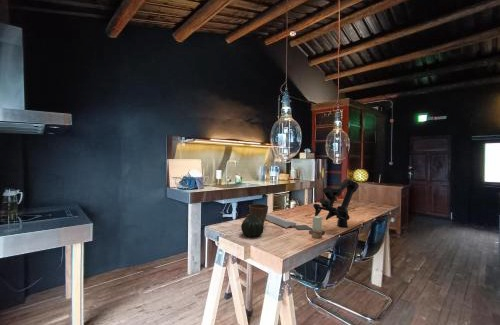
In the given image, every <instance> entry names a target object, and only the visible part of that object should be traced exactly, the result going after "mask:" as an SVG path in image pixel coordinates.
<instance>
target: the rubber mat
mask: <svg viewBox="0 0 500 325" xmlns="http://www.w3.org/2000/svg"><path fill="white" fill-rule="evenodd" d="M293 228H295V229H296V230H298V231H309V230H313V227H311V226H309V225H307V224H300V225H299V224H296V225H294V226H293Z"/></svg>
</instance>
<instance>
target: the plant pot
mask: <svg viewBox="0 0 500 325" xmlns="http://www.w3.org/2000/svg"><path fill="white" fill-rule="evenodd" d="M248 209H249V211H248V212H249V214H251V215H254V216H255V217H257V218H259V219H260V220H261V222H262V224H263V225H264V224H265V221H266V220H265V219H266V215H267V214H268V210H269V206H268V205H266V204H261V203H260V204H259V203H258V204H257V203H254V204H249V205H248Z"/></svg>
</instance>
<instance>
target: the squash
mask: <svg viewBox="0 0 500 325" xmlns="http://www.w3.org/2000/svg"><path fill="white" fill-rule="evenodd" d="M240 228H241V232H242V234H243V235H244V236H245V237H249V238H252V237H259V236H261V235H262V234H263V233H264V224H262V222H261V220H260V219H259V218H257V217H255V216H254V215H251V214H250V213H249V214H248V215H247V216H246V217H245V218H244V220H242V223H241V226H240Z"/></svg>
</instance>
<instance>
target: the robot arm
mask: <svg viewBox="0 0 500 325" xmlns="http://www.w3.org/2000/svg"><path fill="white" fill-rule="evenodd" d="M359 187H360V186H359V183H358V182H356V181H353V180H351V179H347V178H346V179H344V180H343V181H342V182H341V183H339V184H338V185H336V186H332V187H331V186H328V185H327V186H326V187H324V188H323V189H322V193H323V195H324V196H325V199H324V198H320V199H319V201H318V202H319V203H320V204H319V203H313V205H312V207H313V208H314V211H315V212H314V217H315V216H318V215H319V214H320V213H321V211H322V210H323V211H327V212H328V213H327V215H326V217H325V221H327V220H329V219H331V218H332V217H334V216H335V217H336V219H337V224H336V226H337V227H339V228H349V226H348V221H349V220H350V218H351V217H350V215H349V210H348V208H349V205H350V203H351V200H352V197H353V195H354V193H355V192H357V191H358V189H359ZM345 189H346V192H345V195H344V198H343V200H342V202H341V205H338V206H337V207H335V206H334V204H335V202H338V198H337V197H340V196H341V195H342V193H343V191H344V190H345Z"/></svg>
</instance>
